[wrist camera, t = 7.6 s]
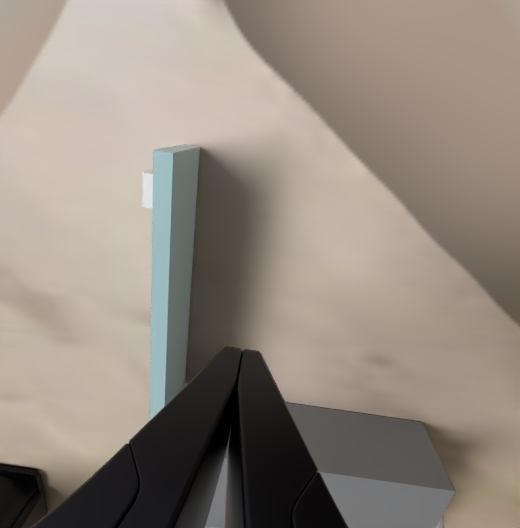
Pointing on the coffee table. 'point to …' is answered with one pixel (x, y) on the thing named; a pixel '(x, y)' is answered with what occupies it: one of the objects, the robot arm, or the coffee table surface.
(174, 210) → the door
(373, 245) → the coffee table surface
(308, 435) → the block
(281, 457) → the robot arm
